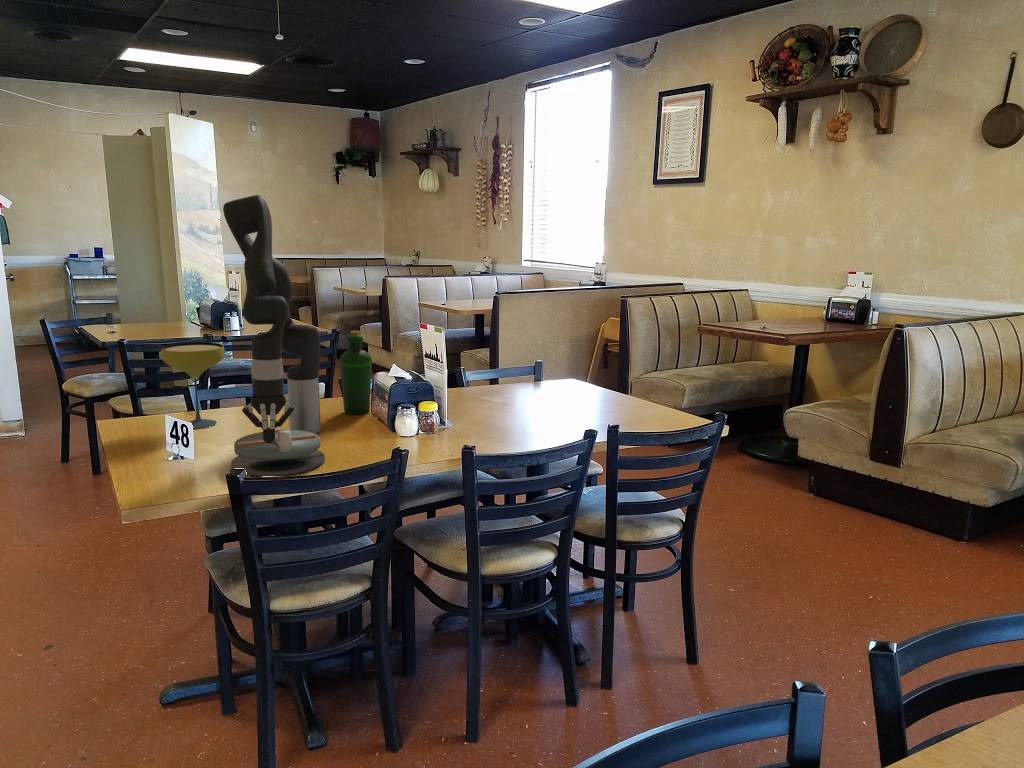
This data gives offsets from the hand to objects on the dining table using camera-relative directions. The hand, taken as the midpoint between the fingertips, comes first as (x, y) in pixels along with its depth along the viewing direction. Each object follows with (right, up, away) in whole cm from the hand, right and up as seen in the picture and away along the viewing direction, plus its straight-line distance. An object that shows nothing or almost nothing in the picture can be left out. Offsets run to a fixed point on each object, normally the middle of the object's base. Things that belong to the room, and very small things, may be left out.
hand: (269, 442), depth 186 cm
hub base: (-1, -6, +11) cm, 13 cm away
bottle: (+8, +5, +65) cm, 66 cm away
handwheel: (-1, -2, +10) cm, 10 cm away
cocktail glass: (-38, +2, +46) cm, 60 cm away
